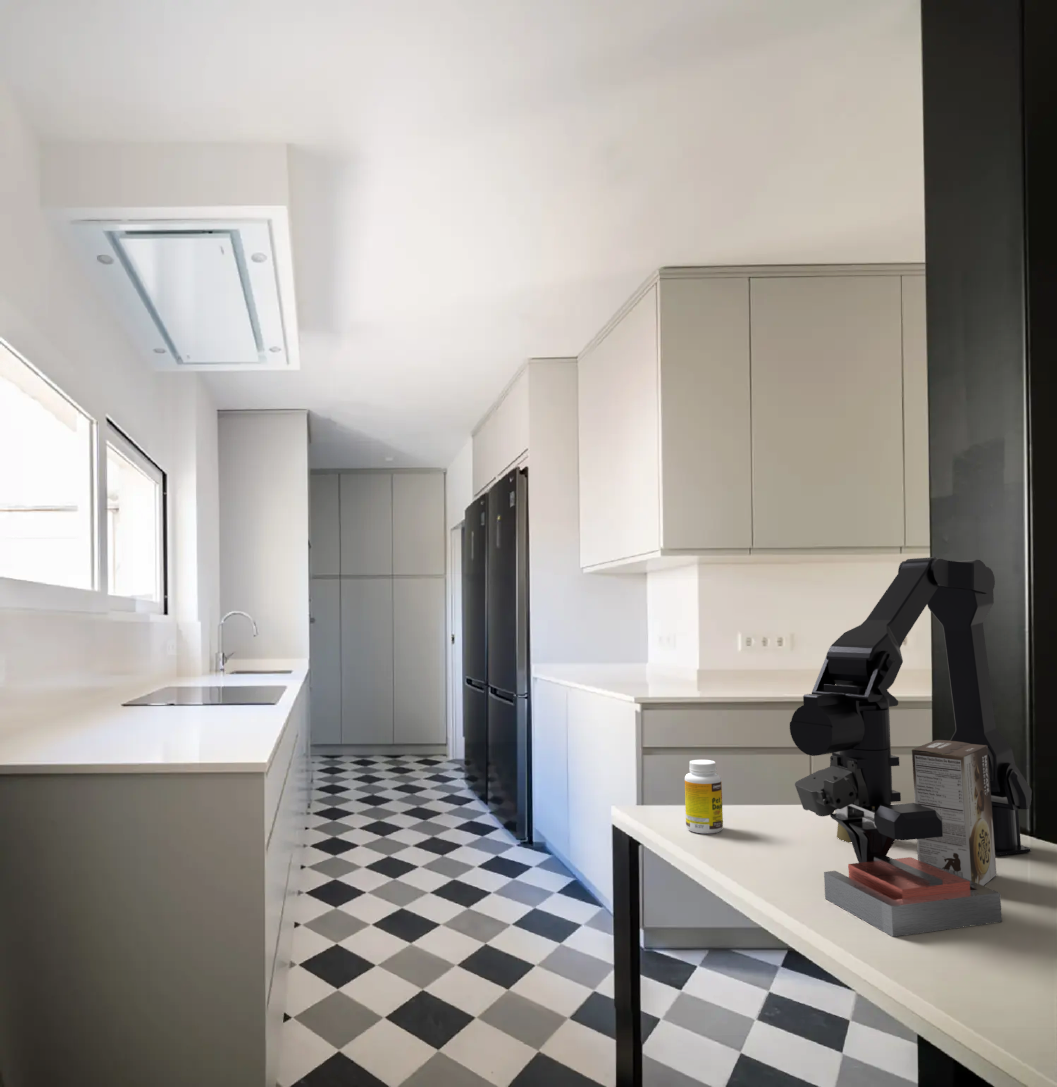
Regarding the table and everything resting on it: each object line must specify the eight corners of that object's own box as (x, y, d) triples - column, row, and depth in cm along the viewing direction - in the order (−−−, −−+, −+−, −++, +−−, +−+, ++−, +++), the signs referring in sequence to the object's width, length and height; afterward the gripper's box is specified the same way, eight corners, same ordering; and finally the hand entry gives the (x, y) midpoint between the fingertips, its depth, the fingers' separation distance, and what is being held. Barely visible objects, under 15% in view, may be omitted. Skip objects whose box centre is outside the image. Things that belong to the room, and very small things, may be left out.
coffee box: (943, 865, 105) (935, 738, 106) (998, 876, 101) (990, 743, 102) (916, 882, 99) (909, 747, 100) (974, 895, 94) (965, 753, 95)
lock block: (912, 892, 96) (910, 852, 96) (971, 919, 87) (969, 876, 87) (849, 899, 93) (848, 859, 94) (904, 928, 85) (901, 884, 85)
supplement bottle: (716, 836, 120) (714, 766, 121) (680, 831, 123) (678, 763, 124) (728, 827, 125) (725, 760, 126) (693, 823, 128) (691, 757, 128)
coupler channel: (924, 886, 97) (922, 860, 97) (1001, 921, 86) (1000, 892, 86) (825, 898, 94) (823, 871, 94) (892, 936, 83) (891, 906, 83)
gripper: (763, 736, 105) (767, 860, 104) (855, 765, 86) (860, 915, 85) (839, 732, 107) (843, 853, 106) (943, 759, 89) (949, 905, 88)
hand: (869, 879), depth 96 cm, fingers closed
